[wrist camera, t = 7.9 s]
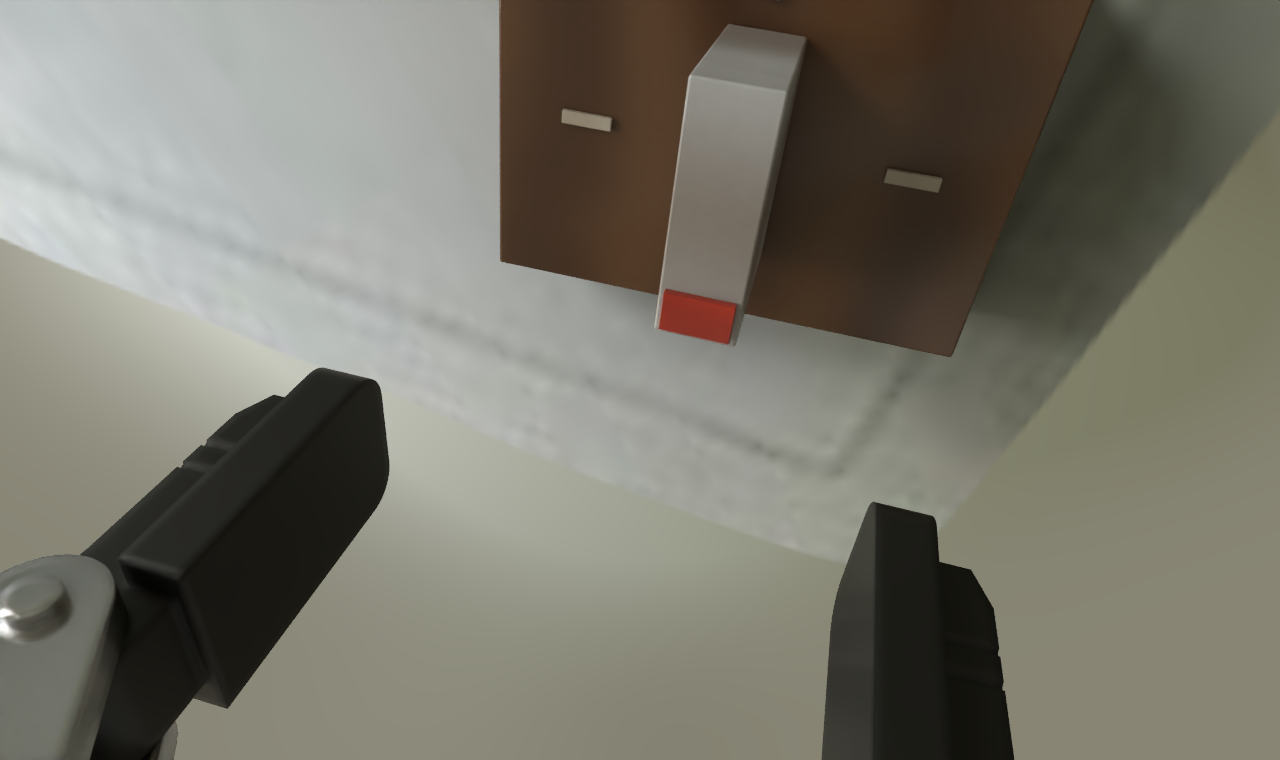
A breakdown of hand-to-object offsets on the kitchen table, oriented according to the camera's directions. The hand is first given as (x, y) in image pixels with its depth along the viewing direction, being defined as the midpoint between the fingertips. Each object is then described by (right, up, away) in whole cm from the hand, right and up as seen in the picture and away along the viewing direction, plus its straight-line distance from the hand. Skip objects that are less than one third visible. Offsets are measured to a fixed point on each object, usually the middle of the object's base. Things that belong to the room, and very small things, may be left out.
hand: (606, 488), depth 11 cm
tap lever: (+3, +8, +11) cm, 14 cm away
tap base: (+4, +9, +13) cm, 17 cm away
